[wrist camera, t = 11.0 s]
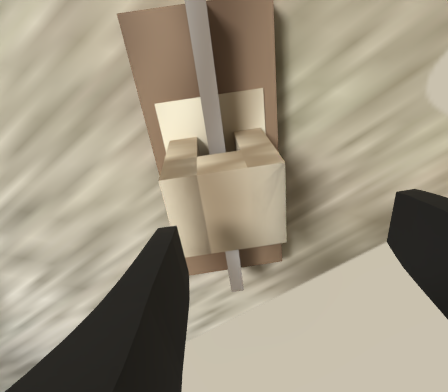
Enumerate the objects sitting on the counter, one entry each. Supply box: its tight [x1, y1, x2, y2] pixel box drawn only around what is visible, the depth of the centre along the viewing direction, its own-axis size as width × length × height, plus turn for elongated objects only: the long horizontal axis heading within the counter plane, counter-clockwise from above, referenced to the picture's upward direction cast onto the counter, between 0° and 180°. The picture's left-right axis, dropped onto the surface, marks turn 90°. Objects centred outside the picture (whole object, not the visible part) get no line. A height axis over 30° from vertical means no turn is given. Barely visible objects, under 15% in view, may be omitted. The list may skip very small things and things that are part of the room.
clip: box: [159, 128, 287, 257], centre depth 14 cm, size 5×4×5 cm
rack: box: [117, 0, 282, 292], centre depth 16 cm, size 7×16×4 cm, turn 7°
